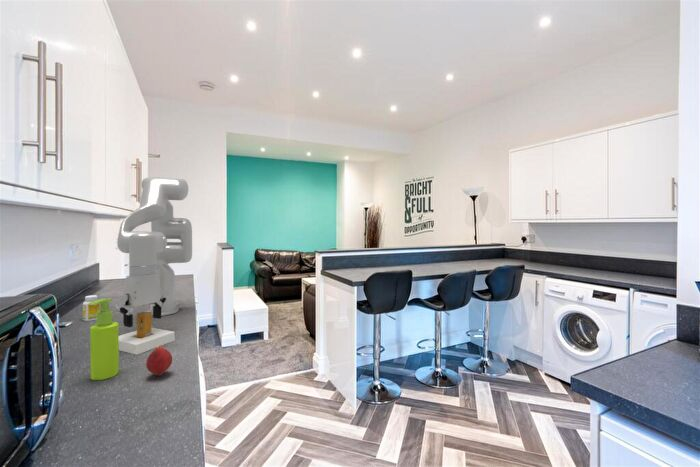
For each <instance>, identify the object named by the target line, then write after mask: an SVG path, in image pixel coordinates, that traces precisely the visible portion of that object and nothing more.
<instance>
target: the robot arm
mask: <svg viewBox="0 0 700 467" xmlns="http://www.w3.org/2000/svg"><path fill="white" fill-rule="evenodd" d="M141 189H142V190H141V195H140V202H139V207H138V208H136V209H134V210H133V211H132V212H130V213H129V214H128V215H126V217H125V218H123V220H122V222H121V224H120V227H119V231H118V235H117V242H116V243H117V248H118V250H119V251H120V252H121V253H124V254H128V259H129V262H128V263H129V264H128V265H129V267H128V272H129V274H128V275H126V277H125V282H124V285H123V292H122V293H123V295H122V297H121V298H120V299H118V300H116V301H115V302H114V303H113V304H114V306H115V308H116V309H117V312H120V314H121V315H123V316H122V317H123V319H122V320H123V326H124V327H126V328H132V327H133V326H134V322H133V321H134V318H133V317H134V316H133V314H132V312H133V311H134V310H135V309H136V308H140V307H144V306H148V305H149V309H147V310H146V311H145V312H152V317H153V318H152V319H158V320H159V319H162V317H163V316H169V315H173V314H176V313H178V312H179V308H178V306H181V305H184V303H185V302H184V299H181V300H178V301H177V300H175V293H176V292H175V291H176V290H175V289H176V288H175V280H176V279H175V276H176V275H175V271H174V270H173V267H171V266H170V265H169V264H182V263H185V264H186V263H189V262H190V261H191V260H192V259H193V227H192V222H191V220H189V219H188V218H186V217H185V218H184V217H174V207H173V204H172V203H171V202H170V201H184V200H185V199H186V198H187V197H188V193H189V184H188V182H187V180H185V179H184V178H171V177H159V176H158V177H155V176H154V177H153V176H152V177H151V176H150V177H145V178H143V179H142V181H141ZM147 223H150V226H151V228H150V230H151V231H136V230H135V229H136V228H137V227H140V226H142V225H145V224H147ZM134 230H135V231H134ZM168 240H180V241H168Z"/></svg>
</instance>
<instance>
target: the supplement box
mask: <svg viewBox="0 0 700 467" xmlns="http://www.w3.org/2000/svg"><path fill="white" fill-rule="evenodd" d="M152 317H153V316H152V312H146V311H143V312H142V311H141V312H138V313H136V331H137V338H140V339H142V338H145V337H148V336H151V335H152V328H153V318H152Z"/></svg>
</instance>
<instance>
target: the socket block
mask: <svg viewBox="0 0 700 467" xmlns="http://www.w3.org/2000/svg"><path fill="white" fill-rule="evenodd" d="M175 334H176V332H175V331H171V330H167V329H161V328H156V327H152V335H151V336H148V337H145V338H142V339H140V338H137V330H134V331H131V332H127V333H124V334H121V335H119V352H124V353H129V354H132V355H140V354H143V353H144V352H148V351H150V350H155V349H156V348H157V347H158V346H159V345H163V346H164V345H167V344H169V343H172V342H175V341H176V338H175V337H176V335H175Z"/></svg>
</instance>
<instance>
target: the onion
mask: <svg viewBox="0 0 700 467" xmlns="http://www.w3.org/2000/svg"><path fill="white" fill-rule="evenodd" d="M145 363H146V366H145V367H146V369H147V370H148V371H149V373H151V374H153V375H156V376H159V377H160V376H161V375H163V374H164V373H165V372H166V371H168V369H169V368H170V367H171V365H172V363H173V356H172V353H171V352H170V351H169V350H168V349H166V348H164V345H159V346H158V347H156V348H154V349H153V351H151V352H150V354H149V355H148V356H147V359H146V362H145Z"/></svg>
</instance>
